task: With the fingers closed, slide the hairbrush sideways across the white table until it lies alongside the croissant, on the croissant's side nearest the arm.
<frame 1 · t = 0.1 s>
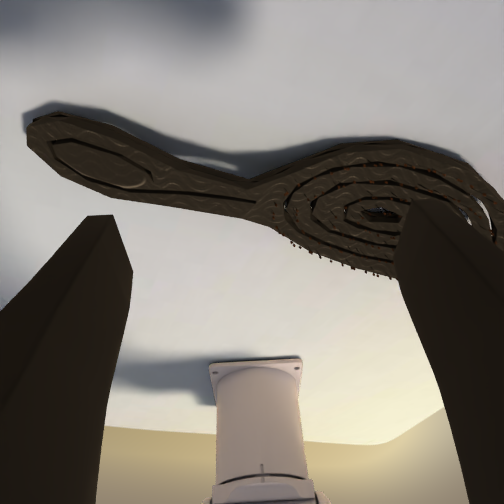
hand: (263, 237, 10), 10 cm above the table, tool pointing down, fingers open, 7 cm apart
hairbrush: (286, 183, 22), on the table
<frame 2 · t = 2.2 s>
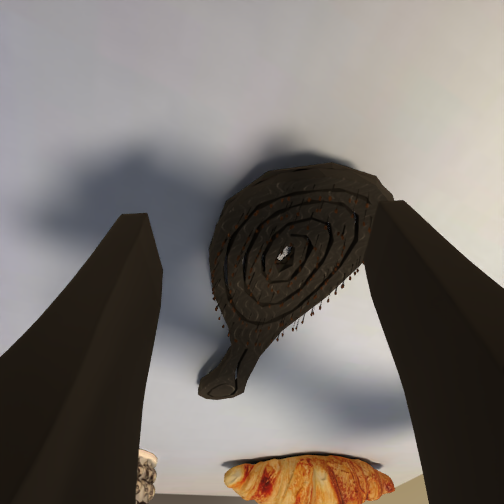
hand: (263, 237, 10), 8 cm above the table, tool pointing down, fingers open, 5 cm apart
hairbrush: (255, 301, 26), on the table
croissant: (308, 460, 50), on the table
decorative candle: (119, 458, 46), on the table
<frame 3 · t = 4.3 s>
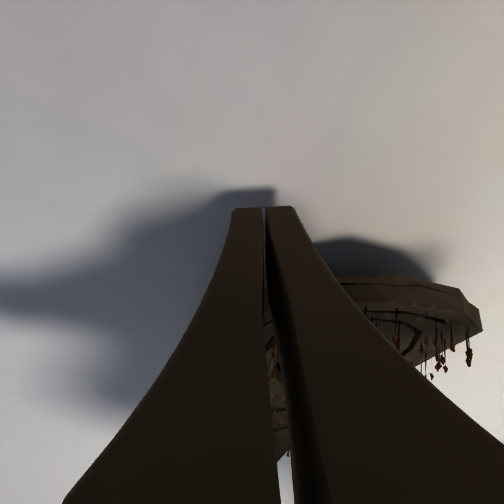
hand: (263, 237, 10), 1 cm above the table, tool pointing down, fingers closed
hairbrush: (266, 396, 20), on the table, touching gripper
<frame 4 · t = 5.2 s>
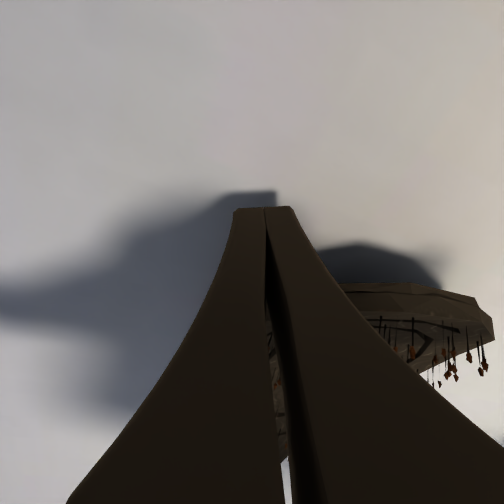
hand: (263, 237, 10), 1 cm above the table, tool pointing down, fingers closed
hairbrush: (267, 400, 20), on the table, touching gripper
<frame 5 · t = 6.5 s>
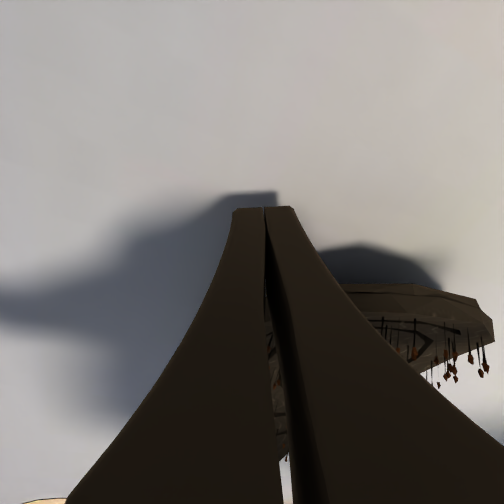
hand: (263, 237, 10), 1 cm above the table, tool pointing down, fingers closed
hairbrush: (264, 400, 20), on the table, touching gripper
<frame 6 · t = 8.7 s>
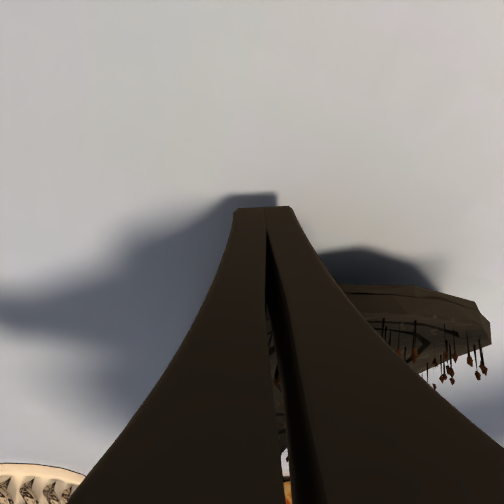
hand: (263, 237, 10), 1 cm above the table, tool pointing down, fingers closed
hairbrush: (258, 400, 20), on the table, touching gripper
decorative candle: (28, 480, 27), on the table
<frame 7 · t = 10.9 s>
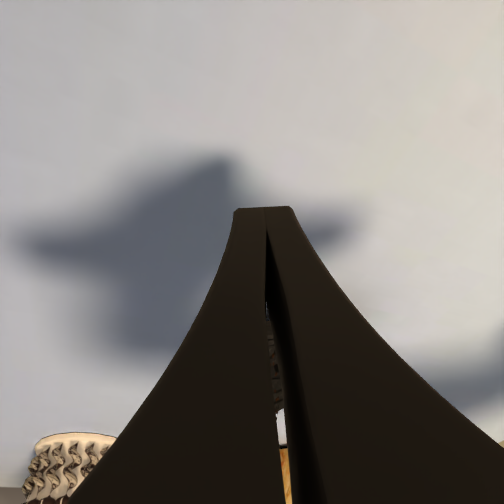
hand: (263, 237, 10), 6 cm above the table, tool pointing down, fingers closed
hairbrush: (253, 385, 30), on the table
croissant: (317, 451, 41), on the table
decorative candle: (85, 447, 37), on the table
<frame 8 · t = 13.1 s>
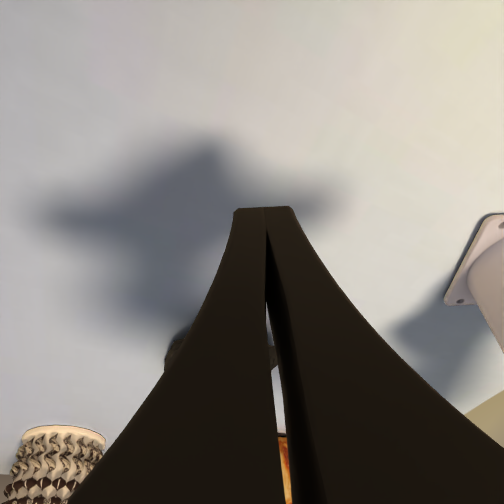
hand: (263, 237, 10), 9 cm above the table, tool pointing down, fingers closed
hairbrush: (199, 386, 37), on the table
croissant: (268, 443, 48), on the table
decorative candle: (65, 438, 44), on the table
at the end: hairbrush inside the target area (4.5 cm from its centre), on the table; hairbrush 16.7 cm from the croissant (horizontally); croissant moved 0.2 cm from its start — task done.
